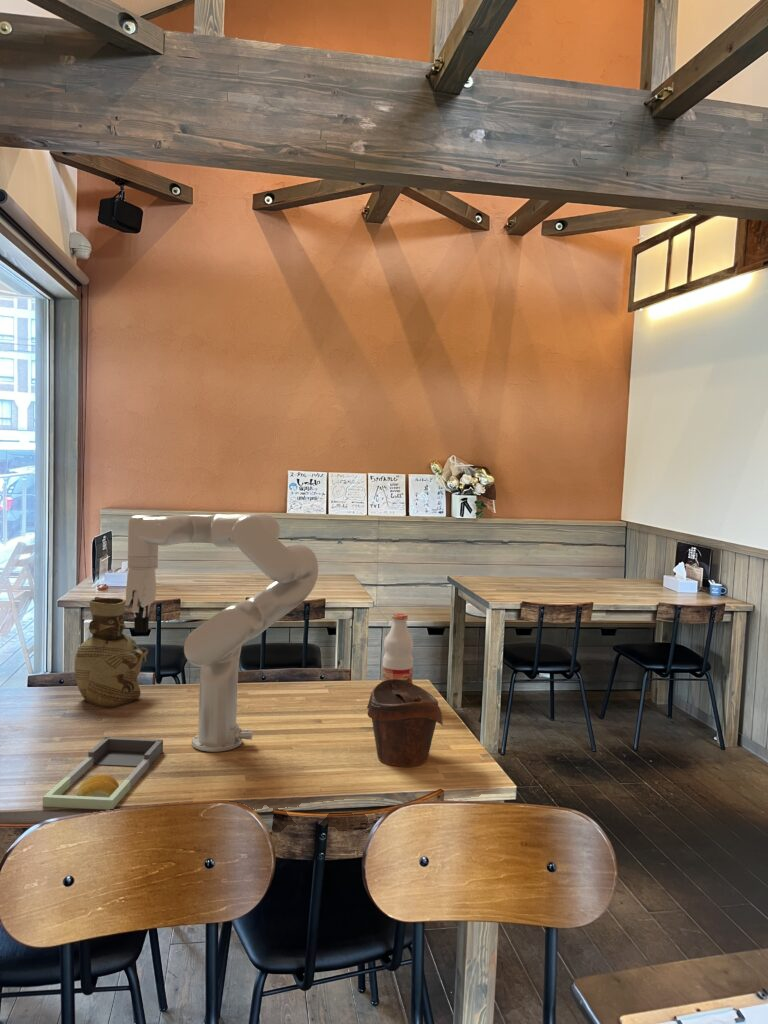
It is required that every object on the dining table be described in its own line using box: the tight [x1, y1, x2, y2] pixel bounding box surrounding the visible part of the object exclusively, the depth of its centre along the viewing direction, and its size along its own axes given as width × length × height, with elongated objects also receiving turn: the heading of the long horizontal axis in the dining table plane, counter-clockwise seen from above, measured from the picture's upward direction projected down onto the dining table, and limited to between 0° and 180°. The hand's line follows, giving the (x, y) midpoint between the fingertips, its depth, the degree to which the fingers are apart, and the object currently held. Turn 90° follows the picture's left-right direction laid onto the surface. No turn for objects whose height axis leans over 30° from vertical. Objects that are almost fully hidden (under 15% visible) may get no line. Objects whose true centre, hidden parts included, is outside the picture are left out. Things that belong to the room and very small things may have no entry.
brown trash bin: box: [366, 679, 444, 768], centre depth 184 cm, size 18×20×18 cm
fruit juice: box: [381, 613, 414, 684], centre depth 226 cm, size 9×9×28 cm
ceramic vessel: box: [74, 597, 149, 709], centre depth 221 cm, size 19×21×30 cm
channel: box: [42, 736, 164, 811], centre depth 166 cm, size 14×32×3 cm, turn 179°
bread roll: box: [76, 774, 120, 797], centre depth 157 cm, size 8×9×4 cm
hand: (141, 631), depth 193 cm, fingers closed
